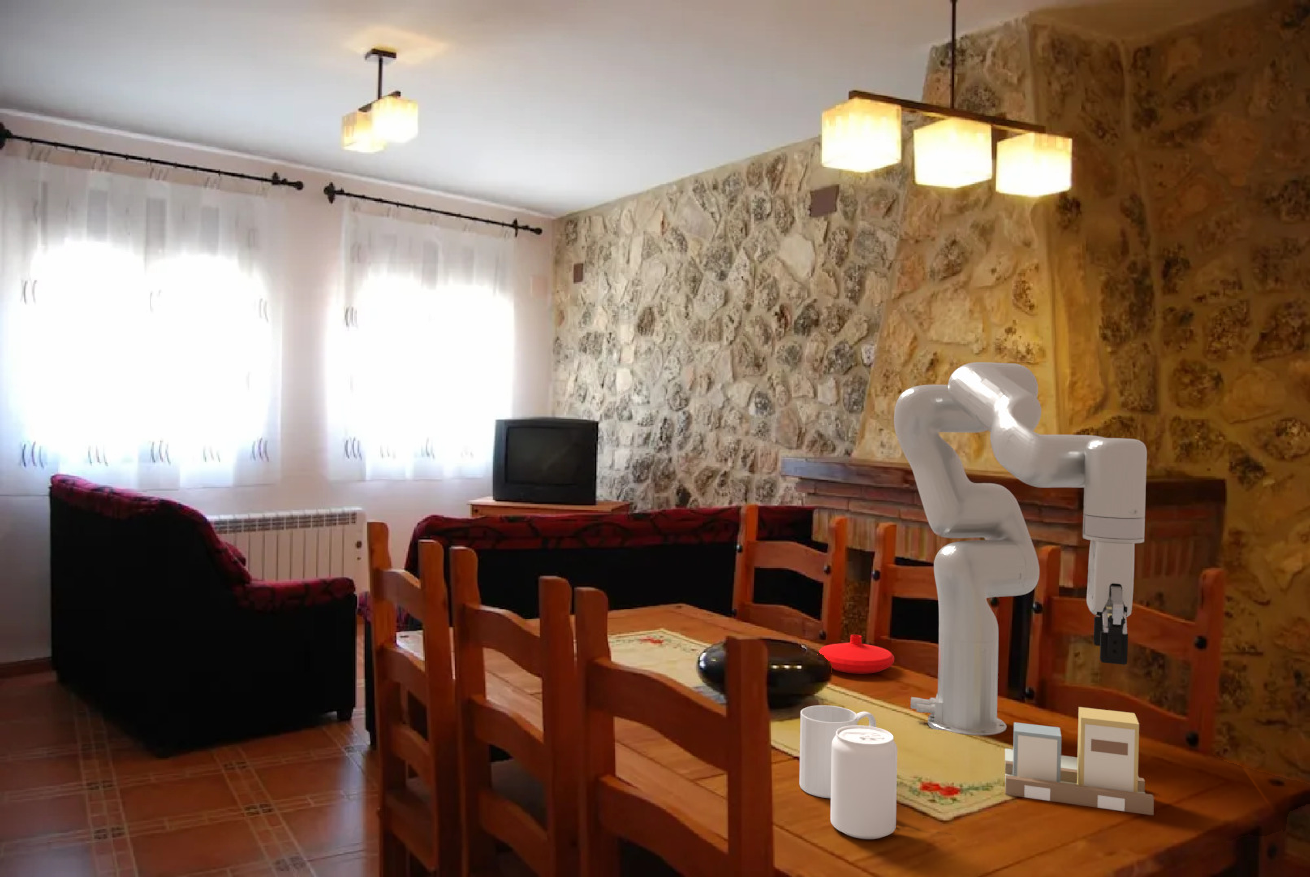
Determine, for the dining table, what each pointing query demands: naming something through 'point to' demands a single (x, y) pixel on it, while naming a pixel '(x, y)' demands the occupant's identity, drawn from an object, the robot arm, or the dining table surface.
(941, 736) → the dining table surface
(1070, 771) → the shelf
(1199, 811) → the dining table surface
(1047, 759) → the box
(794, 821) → the dining table surface
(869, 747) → the beverage can
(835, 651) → the red disc with nozzle
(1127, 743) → the carton
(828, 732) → the mug
